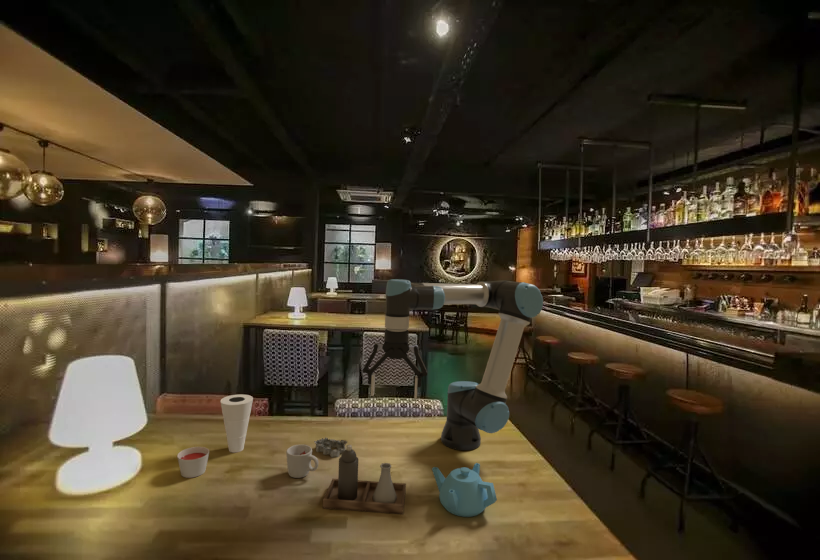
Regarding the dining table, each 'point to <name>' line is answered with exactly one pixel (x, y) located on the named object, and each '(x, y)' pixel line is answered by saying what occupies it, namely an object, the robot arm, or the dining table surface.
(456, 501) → the teapot
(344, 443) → the egg carton
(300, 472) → the cup
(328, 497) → the caddy
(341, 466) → the pepper mill
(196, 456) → the candle
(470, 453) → the dining table surface
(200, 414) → the dining table surface
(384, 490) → the flask
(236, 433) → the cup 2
